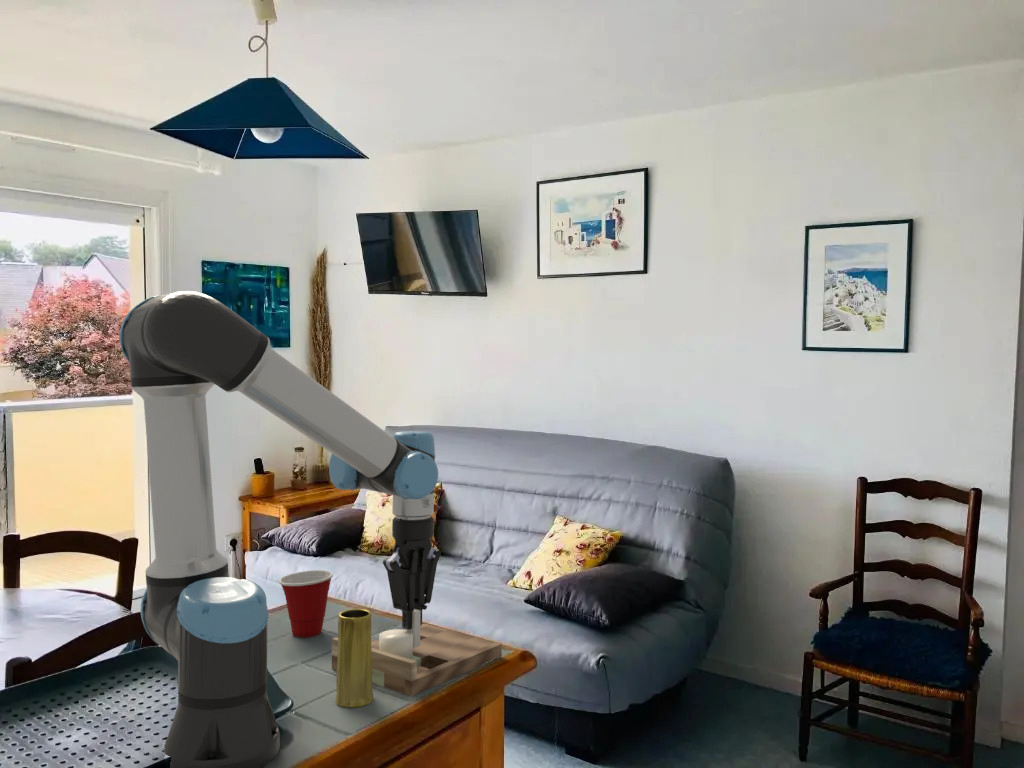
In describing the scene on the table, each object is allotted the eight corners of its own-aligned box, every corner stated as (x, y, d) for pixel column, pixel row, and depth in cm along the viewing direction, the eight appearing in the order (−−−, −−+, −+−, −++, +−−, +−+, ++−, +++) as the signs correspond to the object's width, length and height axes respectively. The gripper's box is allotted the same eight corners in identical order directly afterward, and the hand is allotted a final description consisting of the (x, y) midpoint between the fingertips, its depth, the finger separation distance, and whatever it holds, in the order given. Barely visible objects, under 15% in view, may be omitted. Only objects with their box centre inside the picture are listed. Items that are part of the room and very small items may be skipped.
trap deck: (411, 696, 134) (411, 663, 134) (331, 669, 146) (331, 638, 146) (501, 657, 153) (501, 627, 153) (424, 635, 165) (424, 608, 165)
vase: (370, 691, 136) (370, 606, 136) (376, 705, 130) (376, 617, 130) (333, 696, 134) (333, 609, 134) (337, 710, 128) (338, 620, 128)
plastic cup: (283, 625, 171) (283, 569, 171) (335, 624, 172) (335, 568, 172) (273, 642, 160) (273, 582, 160) (329, 641, 162) (329, 581, 162)
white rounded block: (392, 665, 141) (393, 642, 141) (372, 656, 146) (372, 634, 146) (419, 656, 146) (419, 634, 146) (399, 648, 150) (399, 627, 150)
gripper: (402, 523, 141) (401, 659, 141) (452, 513, 151) (451, 640, 151) (372, 518, 145) (371, 650, 146) (423, 509, 156) (421, 632, 156)
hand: (412, 645), depth 148 cm, fingers closed
